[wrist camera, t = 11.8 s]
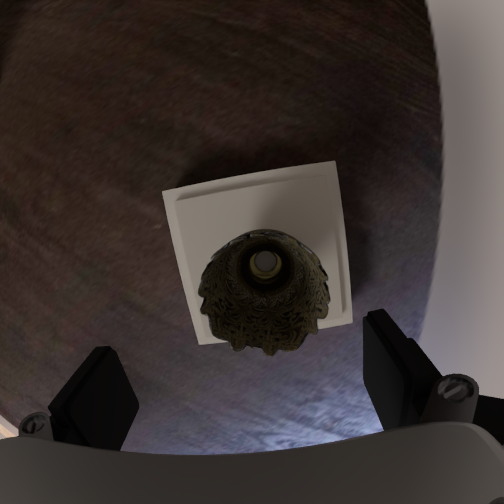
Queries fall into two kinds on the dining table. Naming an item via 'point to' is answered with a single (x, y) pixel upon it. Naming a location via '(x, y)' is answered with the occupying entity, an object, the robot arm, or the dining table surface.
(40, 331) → the dining table surface
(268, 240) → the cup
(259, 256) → the pedestal
